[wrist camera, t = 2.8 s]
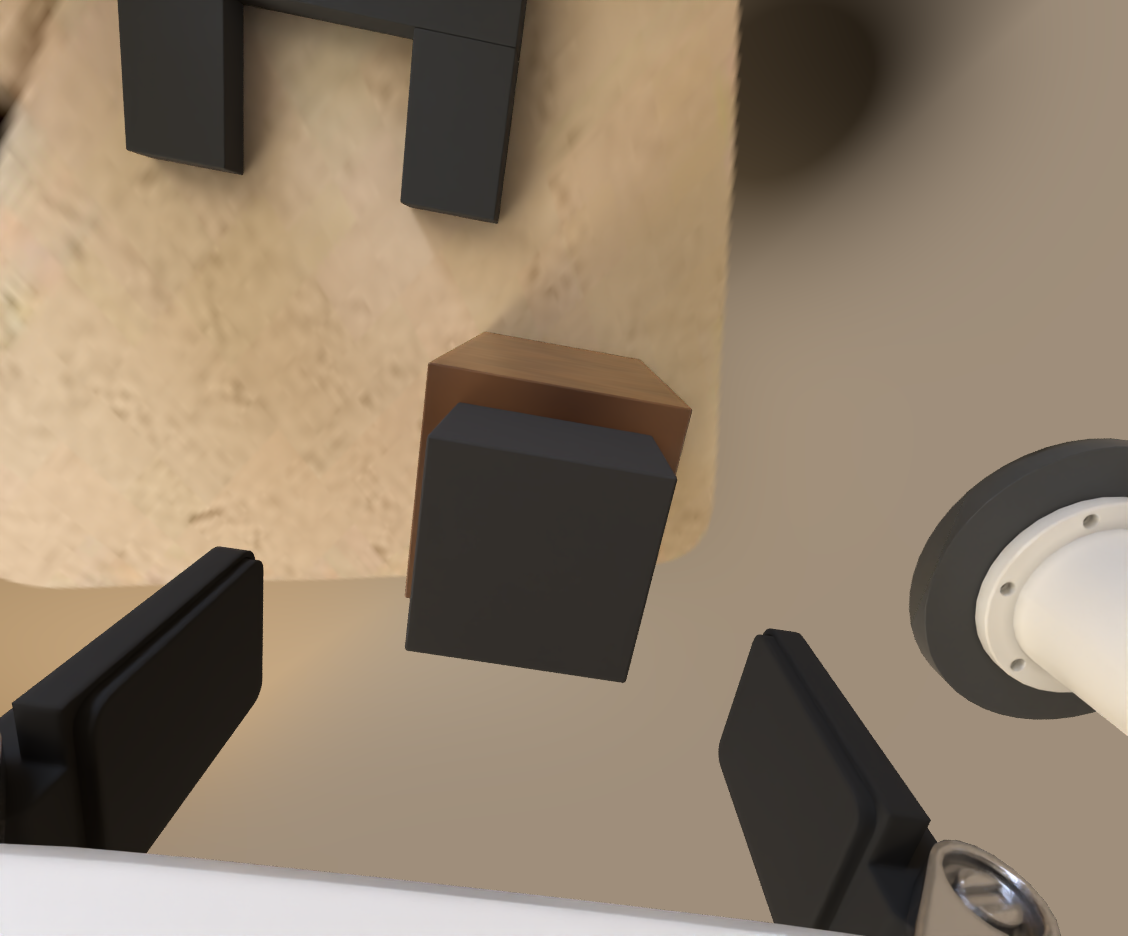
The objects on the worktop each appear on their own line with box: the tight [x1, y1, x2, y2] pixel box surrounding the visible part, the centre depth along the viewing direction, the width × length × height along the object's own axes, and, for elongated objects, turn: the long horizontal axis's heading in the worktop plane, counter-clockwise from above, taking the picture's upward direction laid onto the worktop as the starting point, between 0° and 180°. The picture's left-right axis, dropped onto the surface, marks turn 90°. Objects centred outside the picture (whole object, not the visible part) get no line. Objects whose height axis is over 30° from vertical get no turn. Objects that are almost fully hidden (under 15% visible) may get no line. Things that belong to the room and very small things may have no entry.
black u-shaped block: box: [118, 0, 527, 224], centre depth 23 cm, size 16×14×2 cm
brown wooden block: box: [405, 332, 692, 598], centre depth 23 cm, size 8×8×12 cm
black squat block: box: [405, 402, 677, 683], centre depth 16 cm, size 6×6×4 cm
